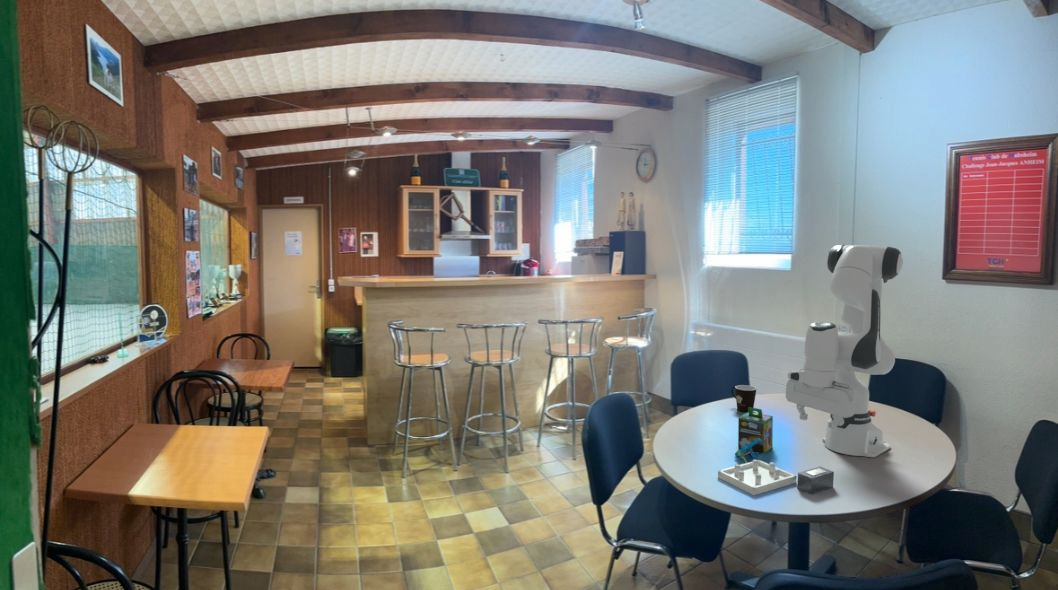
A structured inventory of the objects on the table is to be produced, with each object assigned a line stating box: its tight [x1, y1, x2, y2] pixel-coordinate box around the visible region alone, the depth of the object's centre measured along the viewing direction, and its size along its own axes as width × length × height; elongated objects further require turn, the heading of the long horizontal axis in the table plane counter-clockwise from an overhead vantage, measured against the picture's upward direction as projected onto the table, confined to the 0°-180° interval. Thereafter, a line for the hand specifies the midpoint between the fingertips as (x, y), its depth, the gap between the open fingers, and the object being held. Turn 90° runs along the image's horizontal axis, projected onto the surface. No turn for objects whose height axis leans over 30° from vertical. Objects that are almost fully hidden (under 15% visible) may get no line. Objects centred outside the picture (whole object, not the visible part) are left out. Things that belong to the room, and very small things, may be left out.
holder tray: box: [717, 459, 797, 496], centre depth 174 cm, size 18×14×4 cm
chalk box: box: [737, 407, 774, 455], centre depth 200 cm, size 9×9×15 cm
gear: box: [734, 438, 760, 463], centre depth 190 cm, size 11×6×10 cm
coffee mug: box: [730, 384, 757, 414], centre depth 245 cm, size 12×9×10 cm
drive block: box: [796, 466, 835, 495], centre depth 168 cm, size 10×4×5 cm, turn 117°
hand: (817, 423), depth 167 cm, fingers open, 8 cm apart
